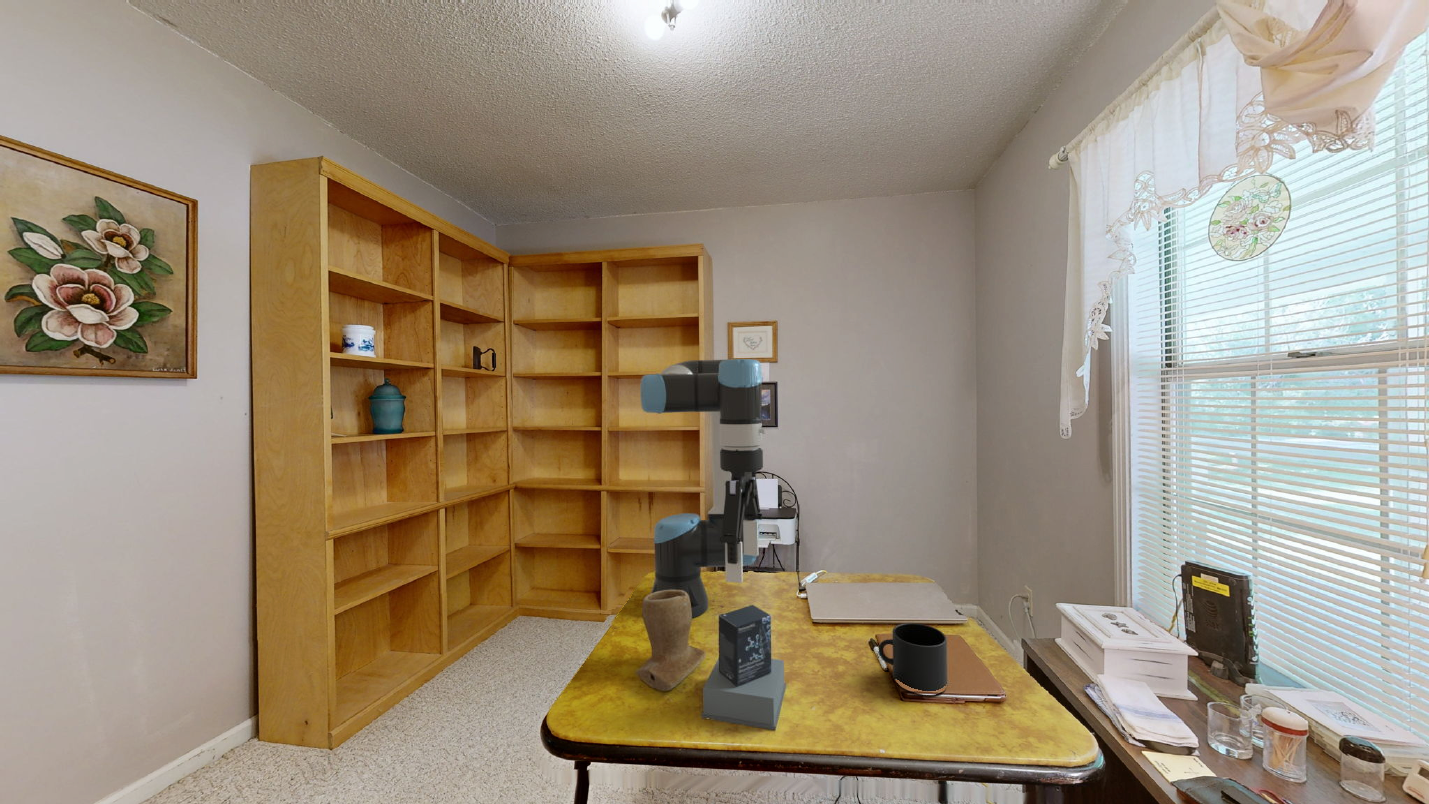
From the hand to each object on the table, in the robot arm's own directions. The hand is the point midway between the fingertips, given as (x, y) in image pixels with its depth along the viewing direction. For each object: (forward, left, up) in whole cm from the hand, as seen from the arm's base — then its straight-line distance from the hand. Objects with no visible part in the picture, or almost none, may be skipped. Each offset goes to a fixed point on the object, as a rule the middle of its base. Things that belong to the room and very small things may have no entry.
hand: (743, 567), depth 89 cm
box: (0, 0, -19) cm, 19 cm away
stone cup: (-6, -17, -24) cm, 30 cm away
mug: (-14, +29, -24) cm, 40 cm away
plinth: (0, 0, -24) cm, 24 cm away
